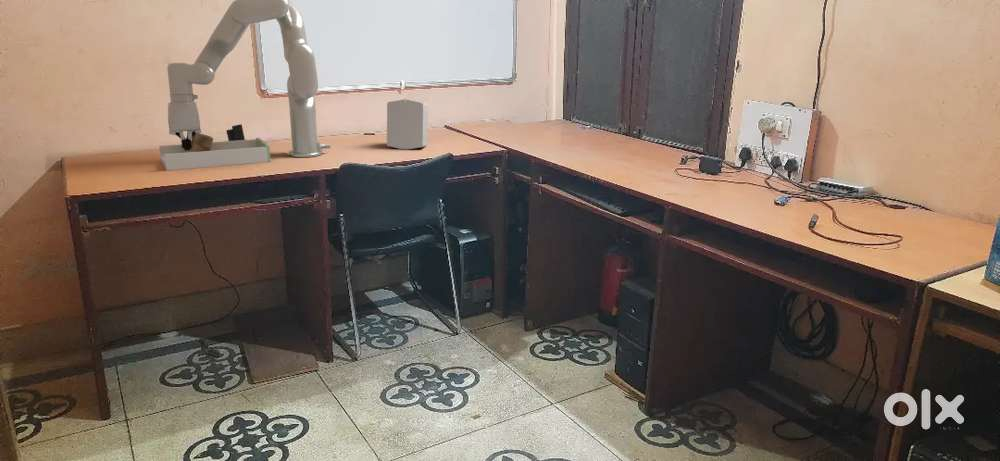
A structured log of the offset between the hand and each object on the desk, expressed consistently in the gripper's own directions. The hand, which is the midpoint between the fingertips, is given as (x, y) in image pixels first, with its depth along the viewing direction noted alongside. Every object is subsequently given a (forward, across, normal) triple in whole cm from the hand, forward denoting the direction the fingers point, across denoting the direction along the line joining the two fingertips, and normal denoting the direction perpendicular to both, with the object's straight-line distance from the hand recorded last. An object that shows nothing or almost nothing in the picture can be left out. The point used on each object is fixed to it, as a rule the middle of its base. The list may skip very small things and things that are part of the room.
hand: (186, 149), depth 260 cm
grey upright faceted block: (+3, -84, +5) cm, 85 cm away
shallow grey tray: (+4, -8, +4) cm, 10 cm away
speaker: (+4, -20, -14) cm, 25 cm away
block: (+1, -4, 0) cm, 4 cm away
